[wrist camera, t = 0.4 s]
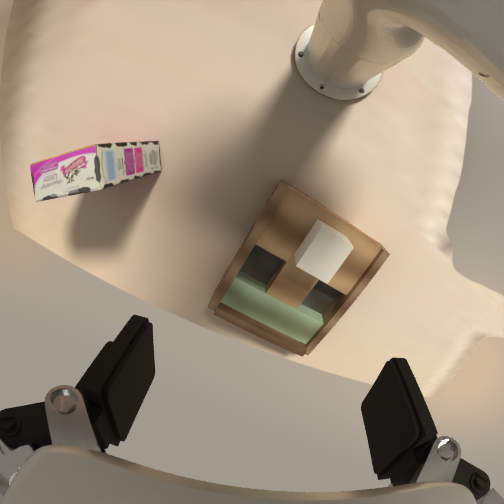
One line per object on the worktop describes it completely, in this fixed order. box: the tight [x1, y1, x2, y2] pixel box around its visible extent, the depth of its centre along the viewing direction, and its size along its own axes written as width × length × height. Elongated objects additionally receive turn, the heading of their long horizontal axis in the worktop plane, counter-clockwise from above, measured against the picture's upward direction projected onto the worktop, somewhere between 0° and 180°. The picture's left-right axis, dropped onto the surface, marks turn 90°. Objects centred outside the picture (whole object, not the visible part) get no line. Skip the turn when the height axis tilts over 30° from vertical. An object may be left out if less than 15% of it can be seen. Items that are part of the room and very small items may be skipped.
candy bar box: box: [30, 141, 161, 202], centre depth 33 cm, size 11×5×16 cm, turn 94°
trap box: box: [208, 180, 390, 356], centre depth 42 cm, size 21×18×5 cm
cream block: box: [294, 219, 354, 284], centre depth 38 cm, size 6×5×4 cm
